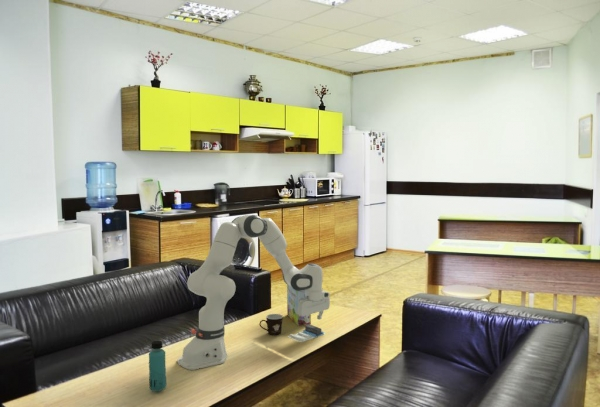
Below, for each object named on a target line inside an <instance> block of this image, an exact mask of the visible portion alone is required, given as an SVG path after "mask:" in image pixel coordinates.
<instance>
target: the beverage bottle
mask: <svg viewBox="0 0 600 407" xmlns="http://www.w3.org/2000/svg"><path fill="white" fill-rule="evenodd" d="M150 349H152V350H150V351H149V353H148V370H149V372H148V378H149V379H148V384H149V390H150V391H152V392H160V391H163V390H164V389H166V387H167V372H166V371H167V370H166V367H167V366H166V351H165V350H164V349H163V341H161V340H153V341H152V342H151V348H150Z"/></svg>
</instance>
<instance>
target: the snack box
mask: <svg viewBox="0 0 600 407" xmlns="http://www.w3.org/2000/svg"><path fill="white" fill-rule="evenodd" d="M286 290H287V291H286V304H287V306H286V307H287V308H286V309H287V311H286V312H287V313H286V314H287V316H288V317H289V318H290V319H291V321H292V322H294V323H295V324H296V325H297V326H302V325H303V326H305V325H308V324H310V325H312V324H311V323H312V322H311V320H312V314H309V315H308V319H310V322H309V323H306V322H305V318H304V316H300V315H298V314H297V310H298V303H299V300H300V299H301V298H303V297H305V290H301V291H296V290H294V289H293V288H292V287H290V286H289V285H287V284H286Z"/></svg>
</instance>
